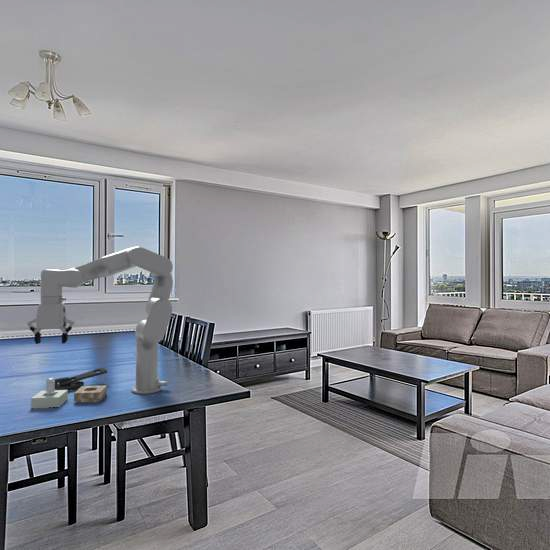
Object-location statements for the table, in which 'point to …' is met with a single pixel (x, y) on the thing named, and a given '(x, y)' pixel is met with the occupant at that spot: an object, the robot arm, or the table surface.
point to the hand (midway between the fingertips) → (51, 343)
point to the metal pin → (50, 386)
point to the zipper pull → (76, 380)
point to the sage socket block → (49, 399)
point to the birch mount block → (90, 393)
